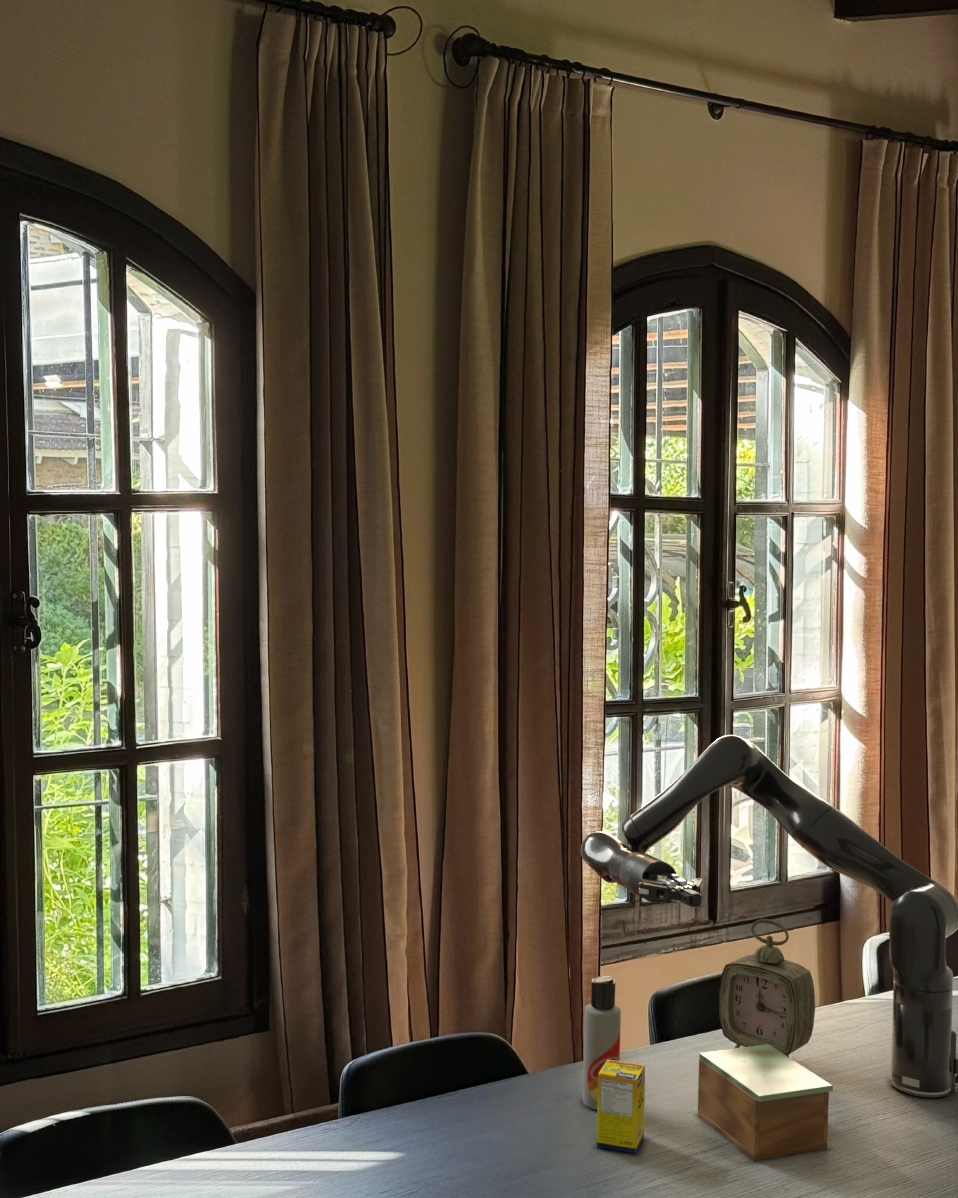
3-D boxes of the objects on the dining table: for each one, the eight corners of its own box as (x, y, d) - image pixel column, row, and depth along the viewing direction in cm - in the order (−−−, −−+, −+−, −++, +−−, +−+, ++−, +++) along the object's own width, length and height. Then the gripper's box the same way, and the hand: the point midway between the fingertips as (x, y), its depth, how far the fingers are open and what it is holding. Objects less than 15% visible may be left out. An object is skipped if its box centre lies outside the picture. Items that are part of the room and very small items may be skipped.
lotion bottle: (617, 1113, 184) (620, 985, 184) (580, 1109, 185) (583, 981, 185) (620, 1098, 189) (623, 973, 189) (584, 1094, 190) (587, 970, 190)
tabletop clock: (717, 1059, 206) (720, 916, 206) (742, 1045, 213) (745, 906, 213) (794, 1083, 197) (798, 933, 197) (818, 1067, 203) (821, 922, 203)
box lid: (832, 1091, 173) (833, 1085, 173) (759, 1102, 168) (759, 1096, 168) (768, 1049, 188) (768, 1044, 188) (698, 1058, 184) (699, 1052, 184)
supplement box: (644, 1137, 176) (646, 1064, 176) (636, 1155, 170) (638, 1079, 170) (605, 1130, 178) (606, 1058, 178) (595, 1148, 172) (597, 1073, 172)
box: (827, 1149, 173) (829, 1089, 173) (754, 1161, 169) (755, 1100, 169) (766, 1104, 188) (768, 1049, 188) (697, 1115, 184) (698, 1058, 184)
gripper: (614, 858, 211) (662, 881, 195) (679, 854, 216) (731, 876, 199) (613, 900, 211) (661, 926, 195) (678, 895, 216) (730, 920, 199)
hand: (697, 900), depth 197 cm, fingers closed
